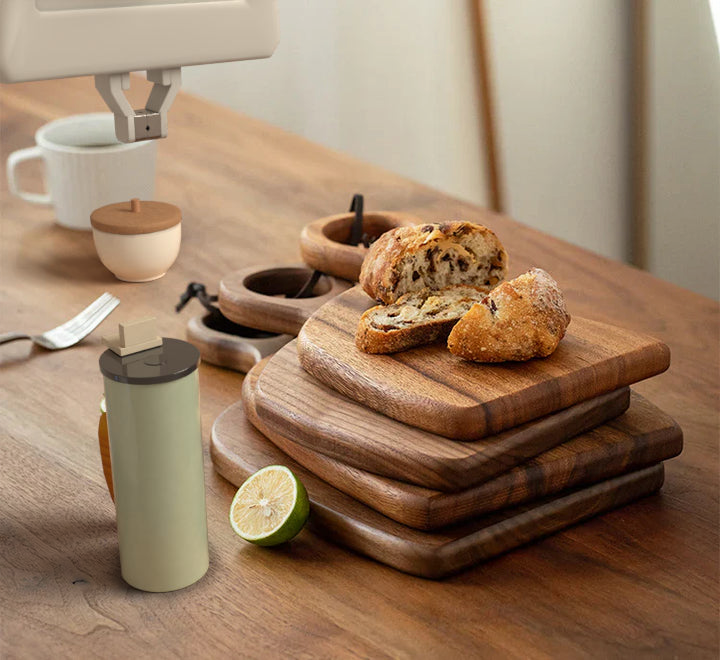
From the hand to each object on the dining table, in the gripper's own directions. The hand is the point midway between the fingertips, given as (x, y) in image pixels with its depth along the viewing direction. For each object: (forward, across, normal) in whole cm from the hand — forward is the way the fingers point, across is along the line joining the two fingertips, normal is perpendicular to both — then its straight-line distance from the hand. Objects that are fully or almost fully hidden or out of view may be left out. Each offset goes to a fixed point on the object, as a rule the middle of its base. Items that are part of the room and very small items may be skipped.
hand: (142, 139), depth 70 cm
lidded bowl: (+37, -35, -70) cm, 86 cm away
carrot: (+37, -3, -11) cm, 39 cm away
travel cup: (+37, -2, -5) cm, 37 cm away
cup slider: (+18, -2, -8) cm, 19 cm away
